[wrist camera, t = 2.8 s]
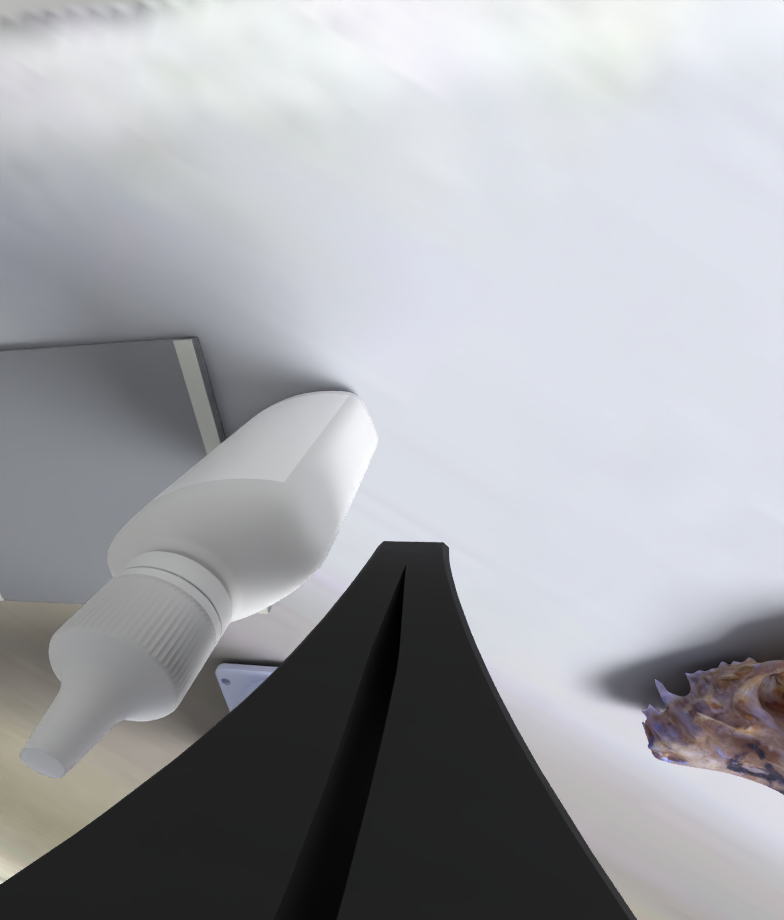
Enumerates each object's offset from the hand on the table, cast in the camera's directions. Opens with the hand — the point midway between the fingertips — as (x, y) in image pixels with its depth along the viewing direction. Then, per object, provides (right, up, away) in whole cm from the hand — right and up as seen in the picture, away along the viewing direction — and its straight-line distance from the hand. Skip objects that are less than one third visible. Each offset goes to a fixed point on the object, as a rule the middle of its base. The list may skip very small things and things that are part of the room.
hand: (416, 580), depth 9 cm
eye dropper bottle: (-4, +3, +8) cm, 10 cm away
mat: (-15, +1, +11) cm, 18 cm away
